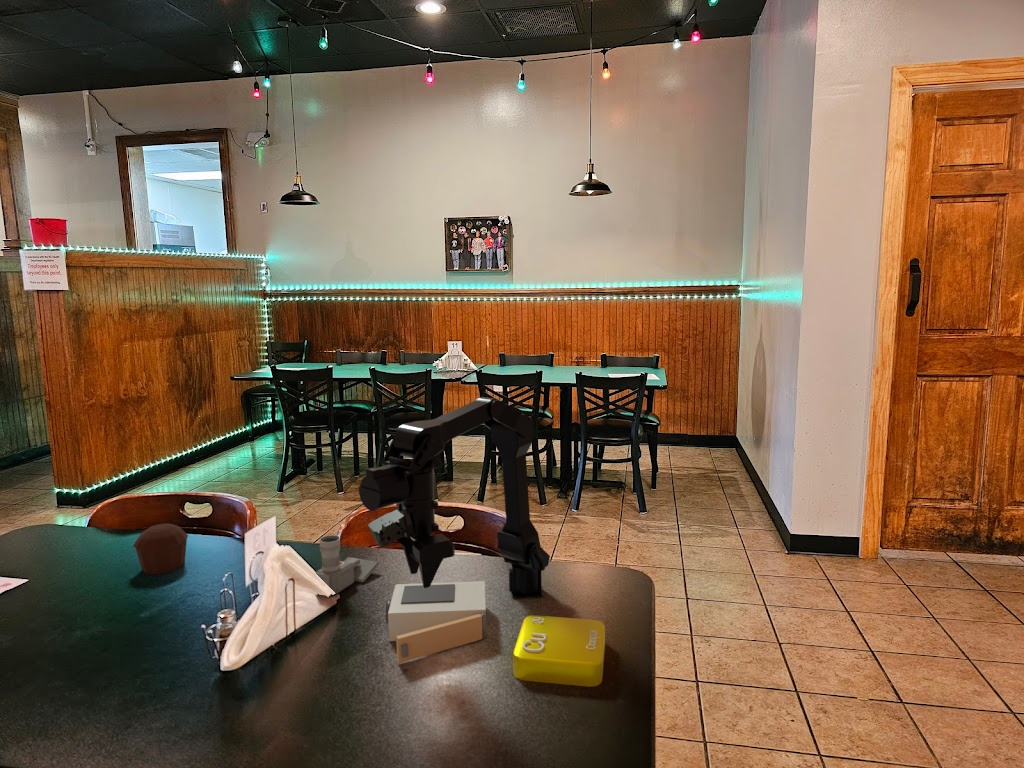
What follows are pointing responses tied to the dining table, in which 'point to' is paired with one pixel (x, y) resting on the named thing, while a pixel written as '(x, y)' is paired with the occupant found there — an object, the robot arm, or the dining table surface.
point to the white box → (432, 605)
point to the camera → (341, 566)
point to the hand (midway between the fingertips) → (420, 580)
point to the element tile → (560, 651)
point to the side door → (440, 637)
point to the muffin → (161, 548)
